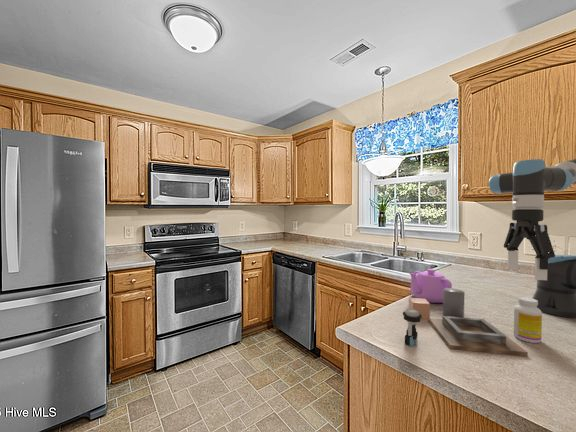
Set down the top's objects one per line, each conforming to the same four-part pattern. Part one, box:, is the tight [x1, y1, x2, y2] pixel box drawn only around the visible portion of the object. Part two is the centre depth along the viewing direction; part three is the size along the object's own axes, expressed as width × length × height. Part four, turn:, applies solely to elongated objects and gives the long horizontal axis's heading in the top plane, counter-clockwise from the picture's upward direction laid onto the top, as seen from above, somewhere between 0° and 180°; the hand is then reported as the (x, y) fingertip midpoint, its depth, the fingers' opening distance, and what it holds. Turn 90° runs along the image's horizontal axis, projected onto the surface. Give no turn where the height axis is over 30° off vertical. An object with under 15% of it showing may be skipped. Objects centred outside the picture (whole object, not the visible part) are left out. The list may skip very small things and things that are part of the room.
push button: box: [402, 308, 422, 347], centre depth 83 cm, size 7×5×10 cm
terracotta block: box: [408, 297, 431, 320], centre depth 104 cm, size 6×6×6 cm
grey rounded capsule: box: [442, 288, 465, 317], centre depth 103 cm, size 7×7×10 cm
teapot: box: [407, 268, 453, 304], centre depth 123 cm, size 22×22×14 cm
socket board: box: [428, 315, 529, 357], centre depth 87 cm, size 20×20×4 cm
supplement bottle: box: [513, 296, 543, 344], centre depth 86 cm, size 7×7×13 cm
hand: (525, 274), depth 86 cm, fingers open, 13 cm apart
